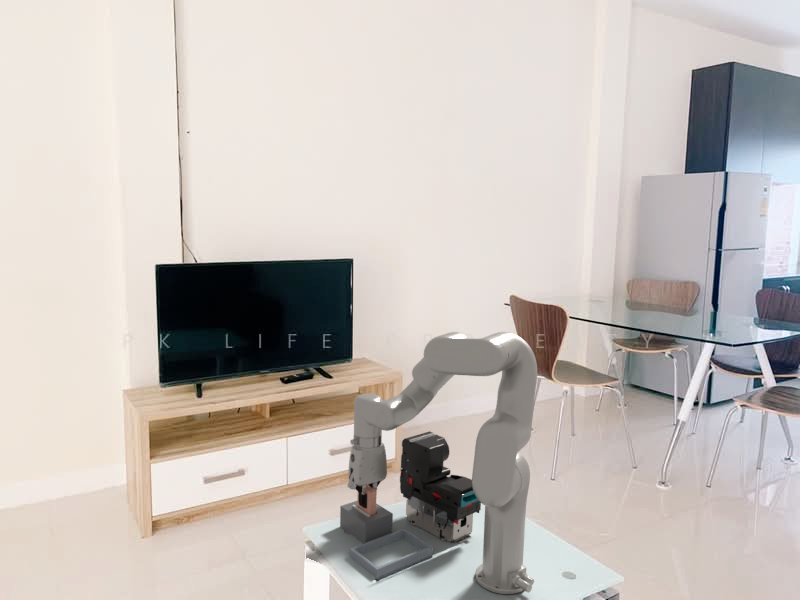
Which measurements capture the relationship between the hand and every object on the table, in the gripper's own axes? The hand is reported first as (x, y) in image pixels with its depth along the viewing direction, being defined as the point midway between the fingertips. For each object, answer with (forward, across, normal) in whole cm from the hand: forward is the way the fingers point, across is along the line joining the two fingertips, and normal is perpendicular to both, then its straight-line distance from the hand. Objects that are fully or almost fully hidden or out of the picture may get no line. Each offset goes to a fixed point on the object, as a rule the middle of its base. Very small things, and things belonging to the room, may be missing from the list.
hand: (366, 504), depth 164 cm
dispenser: (+8, 0, 0) cm, 8 cm away
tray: (+8, -2, -14) cm, 16 cm away
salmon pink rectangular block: (+7, 0, 0) cm, 7 cm away
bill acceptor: (+9, +18, -10) cm, 22 cm away
